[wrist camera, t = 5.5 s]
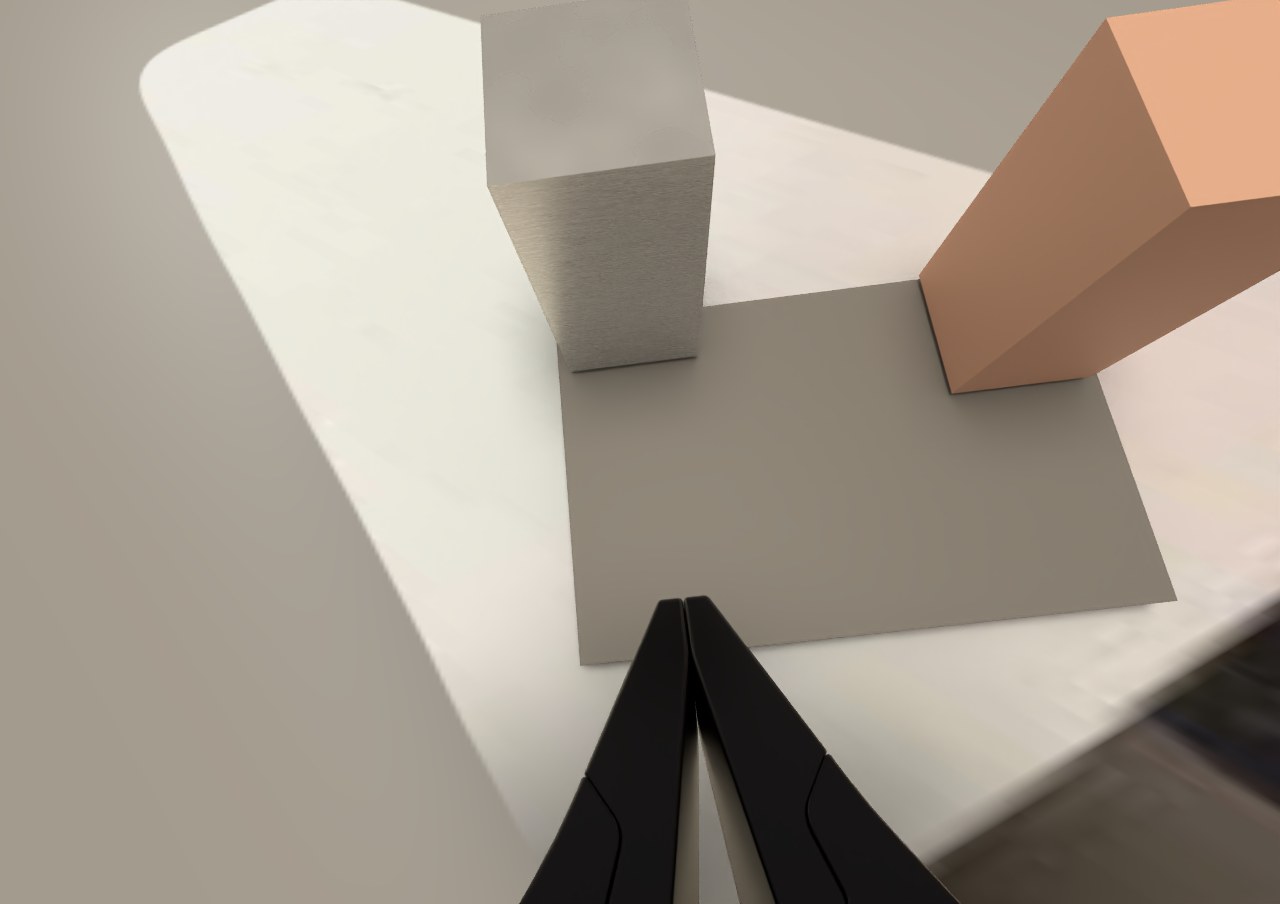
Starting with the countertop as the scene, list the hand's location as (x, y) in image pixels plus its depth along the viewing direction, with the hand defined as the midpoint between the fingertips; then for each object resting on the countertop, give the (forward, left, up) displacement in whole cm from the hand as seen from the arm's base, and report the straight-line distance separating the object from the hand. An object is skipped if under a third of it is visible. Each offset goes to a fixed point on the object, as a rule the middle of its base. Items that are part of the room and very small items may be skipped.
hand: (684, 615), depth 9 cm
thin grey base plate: (+5, -6, -12) cm, 14 cm away
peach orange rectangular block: (+9, -13, -10) cm, 19 cm away
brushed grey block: (+12, +1, -10) cm, 16 cm away
